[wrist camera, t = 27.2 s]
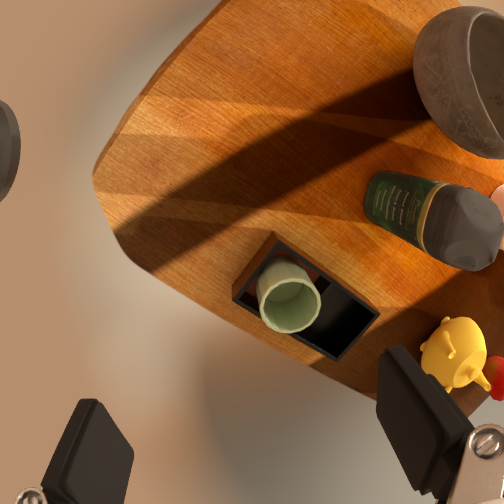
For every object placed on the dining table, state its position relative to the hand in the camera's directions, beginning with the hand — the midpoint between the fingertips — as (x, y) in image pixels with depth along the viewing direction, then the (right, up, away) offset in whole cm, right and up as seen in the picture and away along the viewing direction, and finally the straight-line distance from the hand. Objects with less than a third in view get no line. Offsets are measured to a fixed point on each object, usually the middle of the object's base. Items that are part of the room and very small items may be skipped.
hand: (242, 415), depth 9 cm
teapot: (+35, -12, +40) cm, 55 cm away
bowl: (+30, +30, +27) cm, 50 cm away
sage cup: (+4, +1, +33) cm, 33 cm away
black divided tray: (+8, -1, +35) cm, 36 cm away
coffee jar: (+20, +12, +32) cm, 39 cm away
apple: (+54, -21, +44) cm, 73 cm away
